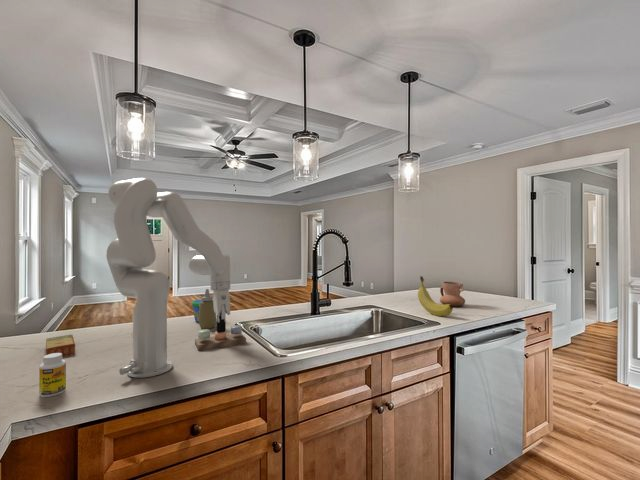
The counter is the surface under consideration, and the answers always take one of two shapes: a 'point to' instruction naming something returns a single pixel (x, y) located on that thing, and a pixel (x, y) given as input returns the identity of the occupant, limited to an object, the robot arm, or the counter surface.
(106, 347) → the counter surface
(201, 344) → the button board
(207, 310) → the squeeze bottle
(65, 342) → the carton
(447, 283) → the ceramic jug
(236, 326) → the button slate
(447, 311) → the banana
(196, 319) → the snack cup
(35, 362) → the counter surface
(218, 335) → the button terracotta
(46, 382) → the supplement bottle
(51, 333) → the counter surface
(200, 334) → the button sage
